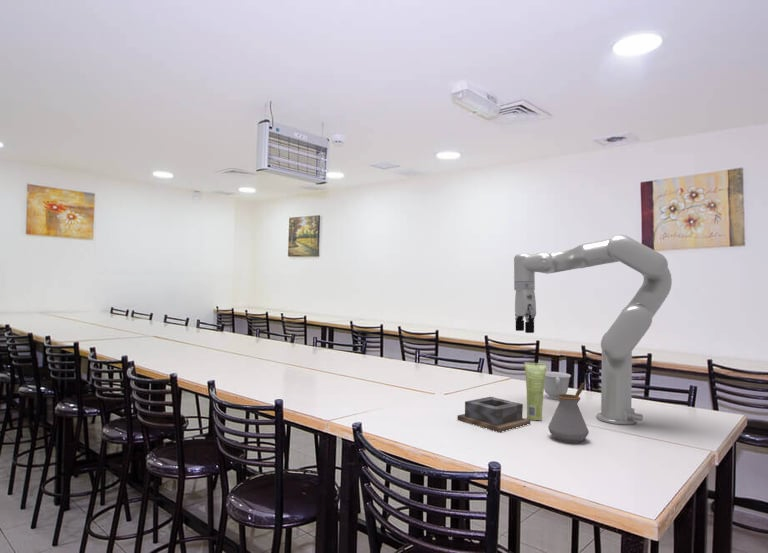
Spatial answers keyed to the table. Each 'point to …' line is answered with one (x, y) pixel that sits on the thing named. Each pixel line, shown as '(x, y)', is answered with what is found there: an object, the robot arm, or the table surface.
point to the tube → (535, 389)
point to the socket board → (494, 414)
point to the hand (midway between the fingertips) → (524, 331)
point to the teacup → (556, 384)
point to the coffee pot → (569, 419)
